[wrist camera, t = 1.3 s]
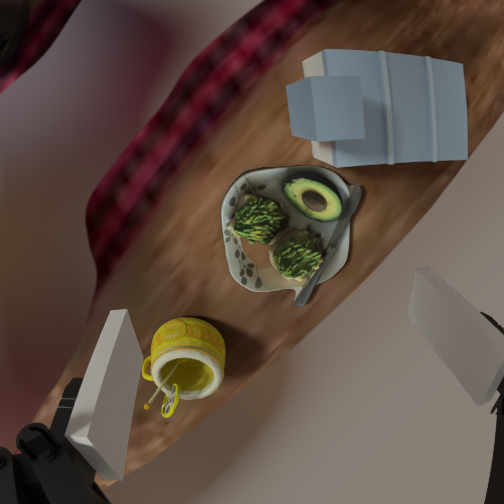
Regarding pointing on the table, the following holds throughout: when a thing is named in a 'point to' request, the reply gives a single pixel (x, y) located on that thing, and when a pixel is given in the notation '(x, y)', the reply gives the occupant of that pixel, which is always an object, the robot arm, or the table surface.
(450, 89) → the light blue l-shaped piece
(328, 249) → the salad plate
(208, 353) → the mug
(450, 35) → the table surface
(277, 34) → the table surface
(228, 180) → the table surface
